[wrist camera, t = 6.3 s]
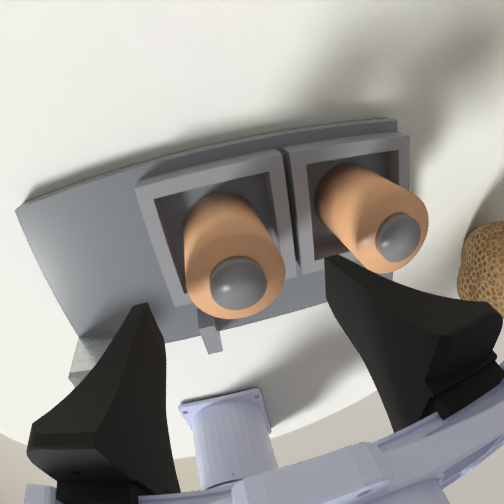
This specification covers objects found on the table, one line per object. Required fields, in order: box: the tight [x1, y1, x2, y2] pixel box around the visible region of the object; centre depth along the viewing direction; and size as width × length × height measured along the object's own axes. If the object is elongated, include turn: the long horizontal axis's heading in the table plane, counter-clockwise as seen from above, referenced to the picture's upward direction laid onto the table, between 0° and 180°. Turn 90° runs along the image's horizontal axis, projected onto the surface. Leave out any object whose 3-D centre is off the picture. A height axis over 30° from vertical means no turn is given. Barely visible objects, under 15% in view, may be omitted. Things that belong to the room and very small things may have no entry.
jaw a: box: [314, 163, 428, 273], centre depth 17 cm, size 4×4×6 cm
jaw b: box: [183, 192, 286, 319], centre depth 16 cm, size 4×4×6 cm
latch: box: [68, 330, 116, 387], centre depth 19 cm, size 2×3×4 cm, turn 99°
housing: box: [15, 118, 409, 354], centre depth 19 cm, size 12×24×3 cm, turn 99°
